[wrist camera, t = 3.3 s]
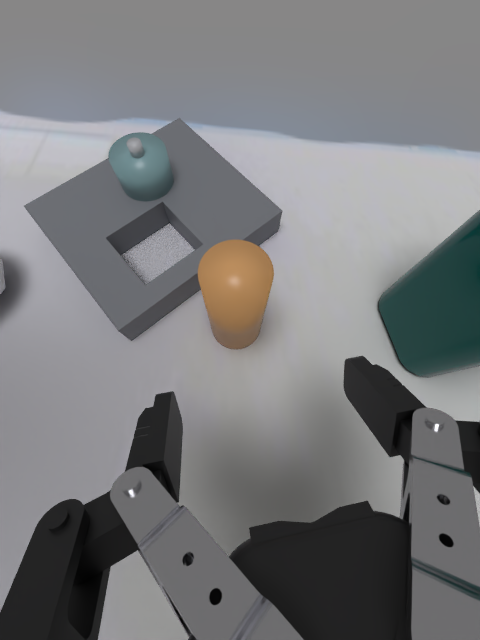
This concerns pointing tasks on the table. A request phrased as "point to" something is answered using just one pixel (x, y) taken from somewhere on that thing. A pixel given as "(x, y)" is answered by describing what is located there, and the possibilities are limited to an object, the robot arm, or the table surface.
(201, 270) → the orange capsule
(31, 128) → the table surface
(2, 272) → the ball
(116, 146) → the block
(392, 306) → the pitcher
